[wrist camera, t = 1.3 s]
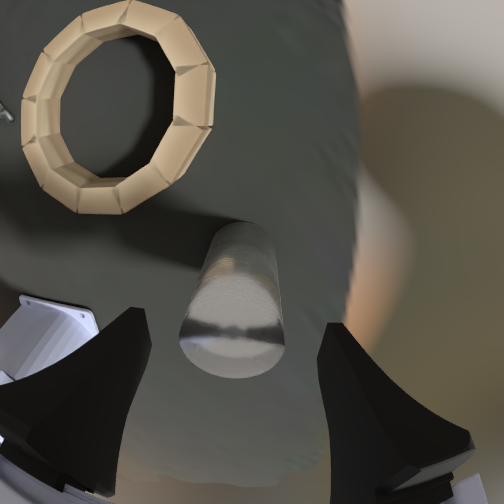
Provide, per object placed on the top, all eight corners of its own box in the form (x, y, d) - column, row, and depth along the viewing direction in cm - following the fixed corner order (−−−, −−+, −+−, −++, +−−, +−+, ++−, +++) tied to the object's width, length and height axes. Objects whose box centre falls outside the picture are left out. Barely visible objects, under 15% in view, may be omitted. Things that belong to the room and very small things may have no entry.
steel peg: (210, 277, 18) (184, 372, 11) (210, 219, 16) (174, 299, 9) (271, 281, 18) (277, 380, 11) (278, 223, 16) (291, 308, 9)
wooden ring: (50, 201, 16) (29, 213, 14) (51, 40, 11) (29, 36, 8) (210, 203, 16) (202, 217, 14) (222, 5, 11) (215, -13, 8)
